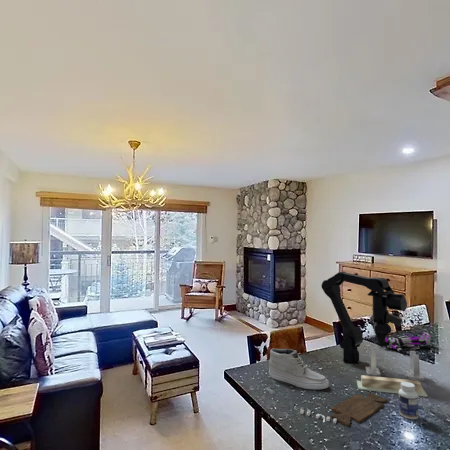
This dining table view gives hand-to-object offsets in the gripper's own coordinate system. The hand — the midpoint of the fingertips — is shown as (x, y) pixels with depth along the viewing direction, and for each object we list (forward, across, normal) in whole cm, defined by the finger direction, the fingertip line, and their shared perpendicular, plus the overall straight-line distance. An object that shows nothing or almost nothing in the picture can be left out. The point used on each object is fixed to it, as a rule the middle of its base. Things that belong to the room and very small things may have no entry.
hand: (380, 343), depth 142 cm
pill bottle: (+11, -37, -4) cm, 39 cm away
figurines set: (+12, -48, +24) cm, 55 cm away
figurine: (+12, +38, -16) cm, 42 cm away
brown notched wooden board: (+12, -38, +11) cm, 41 cm away
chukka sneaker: (+12, -22, +33) cm, 42 cm away
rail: (+11, -18, -1) cm, 21 cm away
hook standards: (+11, -3, -4) cm, 13 cm away
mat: (+11, -18, -1) cm, 22 cm away
